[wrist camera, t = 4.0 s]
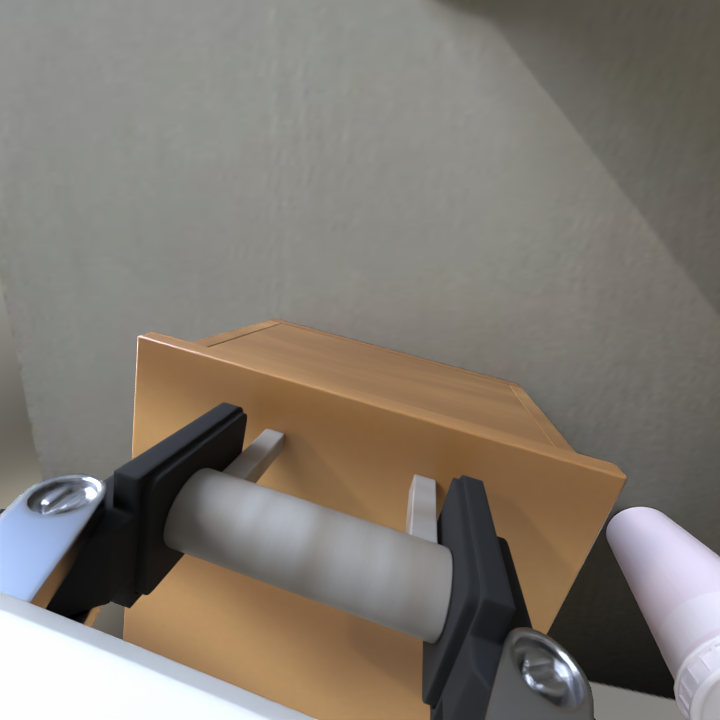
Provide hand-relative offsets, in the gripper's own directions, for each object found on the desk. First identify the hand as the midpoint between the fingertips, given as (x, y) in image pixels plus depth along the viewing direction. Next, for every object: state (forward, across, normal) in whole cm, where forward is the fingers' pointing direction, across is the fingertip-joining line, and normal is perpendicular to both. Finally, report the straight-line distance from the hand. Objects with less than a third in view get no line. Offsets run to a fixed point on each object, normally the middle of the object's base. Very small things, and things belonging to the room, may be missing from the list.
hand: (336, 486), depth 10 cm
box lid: (+2, 0, +6) cm, 7 cm away
